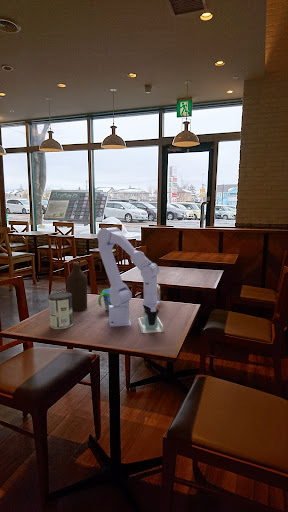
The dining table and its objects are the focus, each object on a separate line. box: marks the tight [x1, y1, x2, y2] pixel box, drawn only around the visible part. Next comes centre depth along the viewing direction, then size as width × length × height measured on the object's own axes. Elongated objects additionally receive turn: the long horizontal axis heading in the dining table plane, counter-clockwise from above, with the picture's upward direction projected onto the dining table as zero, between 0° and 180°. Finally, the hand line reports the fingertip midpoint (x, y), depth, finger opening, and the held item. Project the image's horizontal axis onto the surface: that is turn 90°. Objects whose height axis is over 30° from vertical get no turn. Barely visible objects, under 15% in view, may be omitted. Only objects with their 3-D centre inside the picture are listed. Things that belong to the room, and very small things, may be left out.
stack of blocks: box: [143, 283, 161, 314], centre depth 166 cm, size 21×6×12 cm, turn 172°
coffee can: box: [47, 291, 74, 330], centre depth 141 cm, size 10×10×14 cm
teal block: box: [143, 313, 158, 328], centre depth 135 cm, size 5×5×5 cm
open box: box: [137, 316, 164, 334], centre depth 136 cm, size 9×12×3 cm
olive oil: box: [66, 261, 88, 313], centre depth 163 cm, size 11×11×25 cm
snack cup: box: [98, 287, 119, 312], centre depth 163 cm, size 16×10×10 cm
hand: (150, 322), depth 135 cm, fingers closed on teal block, 5 cm apart
